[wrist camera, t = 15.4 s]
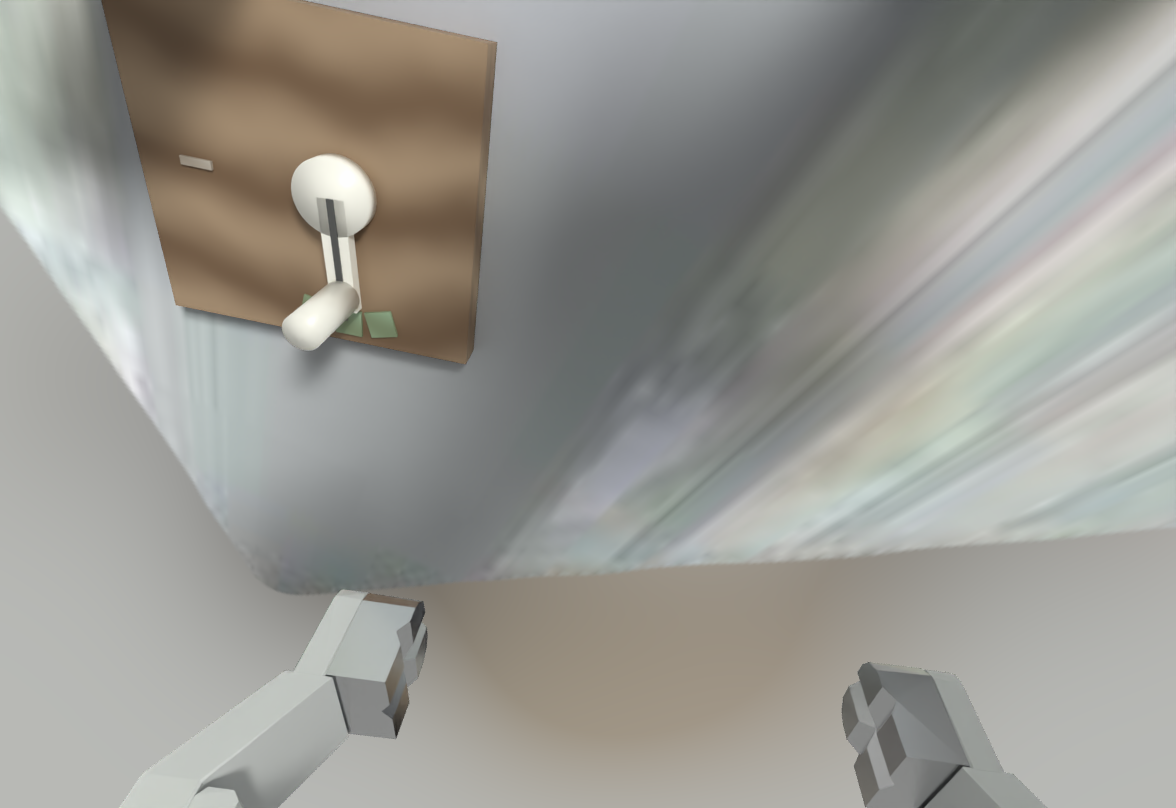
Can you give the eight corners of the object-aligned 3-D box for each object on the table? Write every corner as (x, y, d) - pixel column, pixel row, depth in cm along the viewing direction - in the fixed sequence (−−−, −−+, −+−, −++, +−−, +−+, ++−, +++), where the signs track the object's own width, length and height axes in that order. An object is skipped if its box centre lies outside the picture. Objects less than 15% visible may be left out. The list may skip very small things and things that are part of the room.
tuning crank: (296, 147, 33) (228, 172, 27) (373, 159, 32) (320, 186, 27) (320, 307, 38) (268, 352, 33) (386, 317, 38) (344, 364, 33)
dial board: (121, -39, 30) (87, -43, 29) (497, 42, 31) (487, 43, 29) (195, 293, 41) (173, 306, 39) (473, 350, 41) (465, 365, 40)
